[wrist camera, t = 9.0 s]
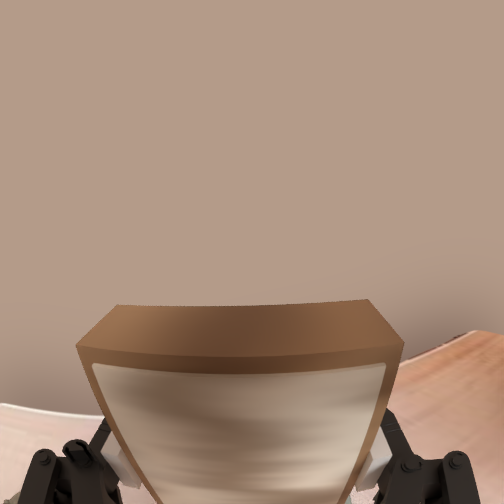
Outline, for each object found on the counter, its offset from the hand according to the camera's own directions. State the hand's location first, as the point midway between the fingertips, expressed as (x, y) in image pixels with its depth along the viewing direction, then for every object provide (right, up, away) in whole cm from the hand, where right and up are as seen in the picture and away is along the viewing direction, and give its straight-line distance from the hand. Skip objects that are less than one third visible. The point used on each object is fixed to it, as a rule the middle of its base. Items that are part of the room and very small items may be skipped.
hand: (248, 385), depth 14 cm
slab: (0, -8, -3) cm, 9 cm away
